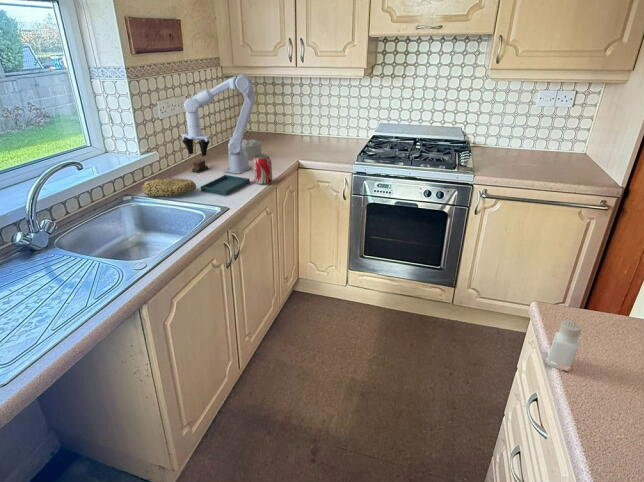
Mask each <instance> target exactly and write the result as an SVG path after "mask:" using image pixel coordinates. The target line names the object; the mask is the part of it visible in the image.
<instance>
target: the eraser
mask: <svg viewBox="0 0 644 482" xmlns="http://www.w3.org/2000/svg"><path fill="white" fill-rule="evenodd" d="M208 169H209V166H208V165H206V160H205V159H198V160H195V161H193V168H191V171H192V173H197V174H199V173H202V172H203V171H206V170H208Z"/></svg>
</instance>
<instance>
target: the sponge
mask: <svg viewBox="0 0 644 482" xmlns="http://www.w3.org/2000/svg"><path fill="white" fill-rule="evenodd" d="M196 190H197V183H195V182H194V180H192V179H187V178H177V177H169V178H162V179H158V178H156V179H151V180H147V181H145V182H144V183H143V184H142V185H141V191H142V192H143V194H144V195H146V196H150V197H177V196H182V195H187V194H190V193H192V192H195V191H196Z"/></svg>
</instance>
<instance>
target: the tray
mask: <svg viewBox="0 0 644 482" xmlns="http://www.w3.org/2000/svg"><path fill="white" fill-rule="evenodd" d="M250 183H251V178H248V177H243V176H242V177H241V176H235V175H227V174H224V175H222V176H220V177H218V178H216V179H214V180H212V181H208V182H207V183H205V184H203V185H201V186H200V192H204V193H209V194H214V195H220V196H224V197H225V196H226V197H227V196H228V195H231V194H232V193H234V192H237V191H238V190H239V189H241V188H243V187H245V186H247V185H249V184H250Z"/></svg>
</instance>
